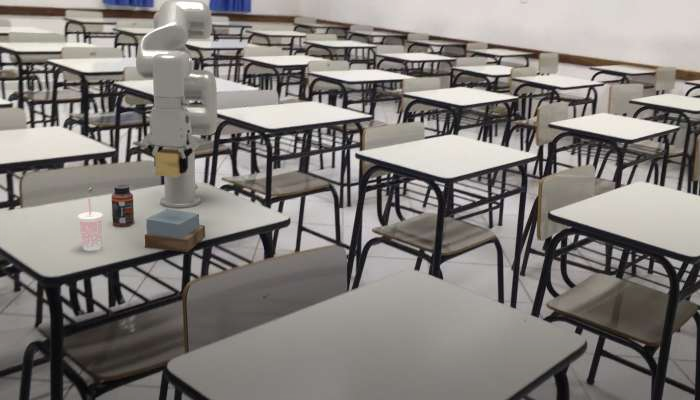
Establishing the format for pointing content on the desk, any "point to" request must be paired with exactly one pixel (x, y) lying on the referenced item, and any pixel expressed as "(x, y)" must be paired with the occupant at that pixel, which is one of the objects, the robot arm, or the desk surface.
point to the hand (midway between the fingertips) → (171, 170)
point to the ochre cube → (168, 163)
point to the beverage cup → (91, 229)
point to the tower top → (173, 223)
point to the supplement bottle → (122, 206)
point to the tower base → (175, 241)
